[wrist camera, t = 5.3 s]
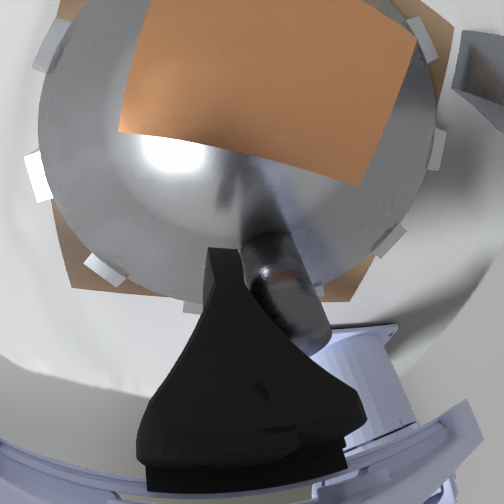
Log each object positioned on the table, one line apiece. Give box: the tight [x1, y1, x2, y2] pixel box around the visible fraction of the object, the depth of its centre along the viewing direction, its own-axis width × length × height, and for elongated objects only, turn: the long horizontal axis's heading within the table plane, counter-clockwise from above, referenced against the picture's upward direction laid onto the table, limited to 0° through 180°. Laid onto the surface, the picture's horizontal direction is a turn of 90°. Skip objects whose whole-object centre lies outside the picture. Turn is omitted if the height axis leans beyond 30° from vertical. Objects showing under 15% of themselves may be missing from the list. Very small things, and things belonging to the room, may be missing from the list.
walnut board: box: [51, 0, 454, 302], centre depth 10 cm, size 18×17×1 cm
